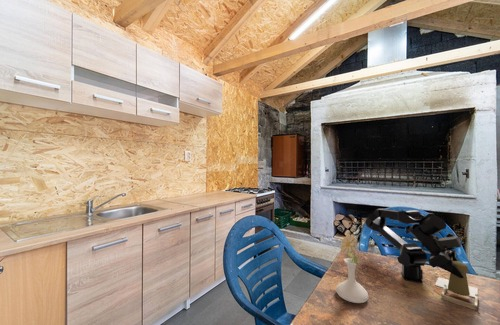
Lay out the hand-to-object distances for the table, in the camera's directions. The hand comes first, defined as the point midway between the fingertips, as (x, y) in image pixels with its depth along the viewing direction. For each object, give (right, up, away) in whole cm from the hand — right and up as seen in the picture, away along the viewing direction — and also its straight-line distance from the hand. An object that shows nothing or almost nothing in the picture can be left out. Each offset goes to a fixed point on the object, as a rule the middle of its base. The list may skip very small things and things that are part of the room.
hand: (463, 275), depth 79 cm
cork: (-1, -7, +1) cm, 7 cm away
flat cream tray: (-2, -9, -1) cm, 9 cm away
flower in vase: (-41, -10, +1) cm, 43 cm away
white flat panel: (+4, -9, +7) cm, 12 cm away
